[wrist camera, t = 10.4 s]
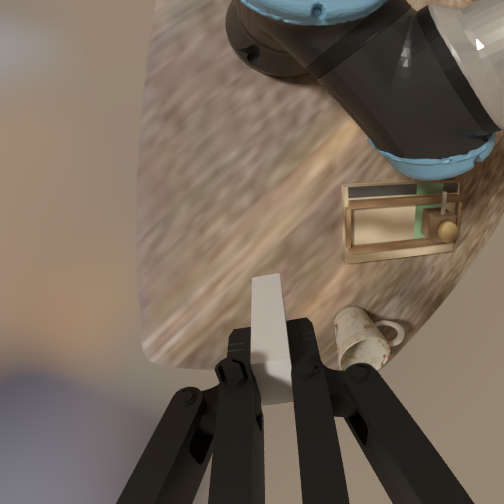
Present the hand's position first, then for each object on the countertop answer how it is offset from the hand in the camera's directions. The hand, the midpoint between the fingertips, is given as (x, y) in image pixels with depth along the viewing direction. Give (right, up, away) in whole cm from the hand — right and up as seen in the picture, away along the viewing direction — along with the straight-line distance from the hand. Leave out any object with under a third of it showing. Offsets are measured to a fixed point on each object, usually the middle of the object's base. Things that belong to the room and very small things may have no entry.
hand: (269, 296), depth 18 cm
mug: (+18, -9, +36) cm, 41 cm away
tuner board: (+22, +8, +28) cm, 36 cm away
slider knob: (+27, +9, +25) cm, 38 cm away
